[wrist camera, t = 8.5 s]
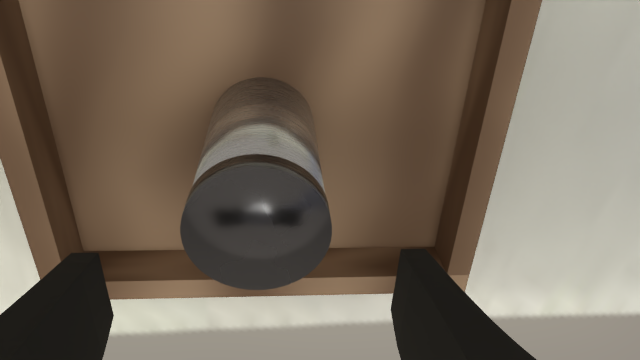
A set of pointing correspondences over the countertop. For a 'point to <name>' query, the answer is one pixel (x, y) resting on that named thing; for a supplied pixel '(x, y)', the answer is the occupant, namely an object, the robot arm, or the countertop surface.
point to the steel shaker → (258, 190)
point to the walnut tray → (197, 108)
